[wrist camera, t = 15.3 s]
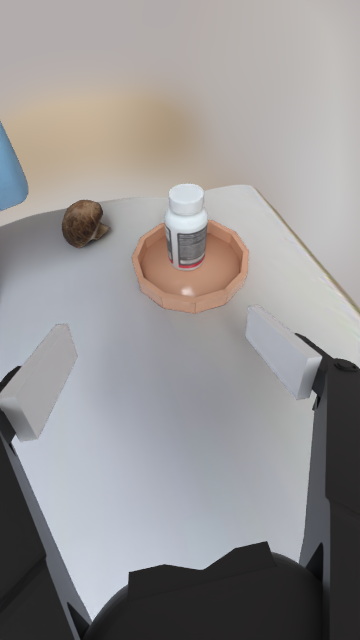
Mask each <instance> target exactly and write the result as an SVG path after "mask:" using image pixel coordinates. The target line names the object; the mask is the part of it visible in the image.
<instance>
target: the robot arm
mask: <svg viewBox="0 0 360 640" xmlns="http://www.w3.org/2000/svg"><path fill="white" fill-rule="evenodd" d="M27 194H28V184H27V180H26V177H25V175H24V172H23V170H22V168H21V165H20V163H19V160H18V158H17V156H16V154H15V152H14V149H13V147H12V145H11V143H10V141H9V138H8V136H7V134H6V132H5V130H4V128H3V126H2V123H1V121H0V211H2V210H5V209H7V208H10V207H12V206H15V205H17V204H20V203H22V202H23V201H24V200H25V199H26V197H27ZM245 337H246V338H247V340H248V341H249V342H250V343H251V345H252V346H253V347H254V348H255V350H256V351H257V352H258V353H259V355H260V356H261V357H262V358H263V360H264V361H265V362H266V363H267V364H268V366H269V367H270V368H271V369H272V371H273V372H274V373H275V374H276V376H277V377H278V378H279V379H280V381H281V382H282V383H283V384H284V386H285V387H286V388H287V389H288V390H289V392H290V393H291V394H292V395H293V397H294V398H295V399H296V400H299V399H305V398H309V397H310V394H311V391H312V390H313V391H314V392H315V393H316V394H317V397H316V400H315V403H314V405H313V408H312V410H314V423H313V435H312V447H311V459H310V471H309V483H308V495H307V507H306V519H305V531H304V539H303V544H302V549H301V553H300V559H299V564H298V563H297V562H295V561H294V560H292V559H290V558H288V557H286V556H284V555H281V554H278V553H274V552H271V550H270V548H269V545H268V542H267V541H266V542H261V543H257V544H252V545H248V546H243V547H239V548H235V549H233V550H232V551H230V552H229V553H228V554H226V555H225V556H223V557H222V558H220V559H219V560H217V561H216V562H214V563H213V564H211V565H210V566H209V567H207V568H206V569H203V570H197V569H190V568H184V567H178V566H172V565H166V564H164V565H159V566H155V567H150V568H146V569H142V570H137V571H133V572H129V581H128V585H126V586H125V587H123V588H122V589H121V590H119V591H118V592H117V593H116V594H115V595H114V596H113V597H112V598H111V599H110V600H109V601H108V602H107V603H106V604H105V605H104V607H103V608H102V609H101V611H100V612H99V613H98V615H97V616H96V617H95V619H94V620H93V622H92V621H91V618H90V616H89V614H88V612H87V610H86V608H85V606H84V604H83V602H82V600H81V598H80V597H79V595H78V593H77V591H76V589H75V587H74V585H73V582H72V580H71V578H70V575H69V573H68V571H67V568H66V566H65V564H64V562H63V559H62V557H61V555H60V552H59V550H58V548H57V545H56V543H55V541H54V538H53V536H52V534H51V532H50V529H49V527H48V525H47V522H46V520H45V518H44V515H43V513H42V511H41V508H40V506H39V504H38V502H37V499H36V497H35V495H34V492H33V490H32V488H31V485H30V483H29V481H28V478H27V476H26V474H25V472H24V469H23V467H22V465H21V462H20V460H19V458H18V455H17V453H16V451H15V449H14V446H13V445H12V443H11V441H12V439H13V437H14V436H15V434H16V435H17V437H18V439H19V440H20V442H23V441H30V440H37V439H38V438H39V436H40V434H41V432H42V430H43V428H44V425H45V423H46V421H47V419H48V417H49V415H50V413H51V411H52V409H53V407H54V405H55V403H56V400H57V398H58V396H59V394H60V392H61V390H62V388H63V386H64V384H65V382H66V380H67V378H68V375H69V373H70V371H71V369H72V367H73V365H74V363H75V361H76V359H77V357H78V356H77V352H76V349H75V346H74V343H73V340H72V337H71V334H70V330H69V327H68V324H59V325H55V326H54V328H53V329H52V330H51V331H50V332H49V334H48V335H47V336H46V337H45V339H44V340H43V341H42V342H41V344H40V345H39V346H38V347H37V348H36V350H35V351H34V352H33V353H32V355H31V356H30V357H29V358H28V360H27V361H26V362H25V363H24V364H23V366H17V367H16V368H14V369H13V370H12V371H10V372H9V373H8V374H7V375H6V376H5V377H4V378H3V380H2V381H1V382H0V640H360V369H359V367H357V366H356V365H355V364H353V363H352V362H350V361H347V360H344V359H338V358H336V359H333V358H332V357H331V356H329V355H328V354H327V353H326V352H324V351H323V350H322V349H320V348H319V347H318V346H316V345H315V344H314V343H312V342H311V341H310V340H309V339H307V338H306V337H304V336H302V335H300V334H298V333H293V332H291V331H290V330H289V329H288V328H286V327H285V326H284V325H283V324H281V323H280V322H279V321H278V320H277V319H275V318H274V317H273V316H272V315H270V314H269V313H268V312H267V311H265V310H264V309H263V308H262V307H260V306H259V305H251V306H249V308H248V317H247V326H246V335H245Z"/></svg>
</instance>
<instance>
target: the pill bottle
mask: <svg viewBox="0 0 360 640" xmlns="http://www.w3.org/2000/svg"><path fill="white" fill-rule="evenodd" d="M203 205H204V191H203V189H202V188H201V187H199V186H197V185H194V184H180V185H177V186H175V187H173V188H172V189H171V190H170V191H169V208H168V209H167V211H166V213H165V217H164V221H165V231H166V240H167V250H168V258H169V262H170V264H171V265H172V266H173V267H174V268H176V269H178V270H181V271H191V270H195V269H197V268H198V267H200V266H201V265H202V263H203V261H204V257H205V247H206V236H207V225H208V214H207V211H206V209H205V208H204V207H203Z"/></svg>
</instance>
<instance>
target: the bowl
mask: <svg viewBox="0 0 360 640" xmlns="http://www.w3.org/2000/svg"><path fill="white" fill-rule="evenodd" d="M248 258H249V250H248V249H247V248H246V246H245V245H244V243H243V242H242V240H241V239H240V237H239V236H238V235H237V233H236V232H235V231H233V230H231V229H229V228H227V227H225V226H223V225H221V224H219V223H217V222H215V221H213V220H208V225H207V236H206V247H205V257H204V261H203V263H202V265H201V266H200V267H198V268H197V269H195V270H191V271H181V270H178V269H176V268H174V267H173V266H172V265H171V264H170V262H169V258H168V250H167V240H166V231H165V223H161V224H159V225H158V226H156V227H155V228H153V229H152V230H151V231H149V232H148V233H146V234H145V235H143V236H142V237H141V238H140V240H139V242H138V244H137V247H136V249H135V251H134V253H133V256H132V261H133V265H134V268H135V271H136V275H137V278H138V282H139V285H140V288H141V291H142V292H143V293H144V294H146V295H147V296H148V297H149V298H151V299H152V300H153V301H155V302H156V303H157V304H158V305H160V306H161V307H162V308H165V309H171V310H177V311H183V312H189V313H198V312H201V311H205V310H208V309H212V308H215V307H219V306H222V305H225V304H226V303H227V302H228V301H229V300H230V299H231V298H232V297H233V296H234V295H235V293H236V292H237V291H238V290H239V289H240V288H241V287H242V286H243V284H244V281H245V279H246V276H247V271H248Z"/></svg>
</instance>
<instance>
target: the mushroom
mask: <svg viewBox="0 0 360 640" xmlns="http://www.w3.org/2000/svg"><path fill="white" fill-rule="evenodd" d="M102 215H103V211H102V208H101V206H100V204H98V203H97V202H93V201H90V200H80V201H78V202H76V203H74V204H72V205H71V206H70V207H69V208H68V209H67V211H66V213H65V215H64V218H63V222H62V232H63V236H64V238H65V239H66V241H67V242H68V243H69V244H71V245H72V246H74V247H77V248H81V247H83V246H85V245H86V244H87V243H88V242H89V241H90V240H91V239H96V240H97V239H99V238H100V237H101V236H102V235H103V234H104V233H106V232H107V231H108V230H109V228H110V227H109V226H106V225H104V224H102V223H101V222H100V220H101V218H102Z"/></svg>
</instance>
